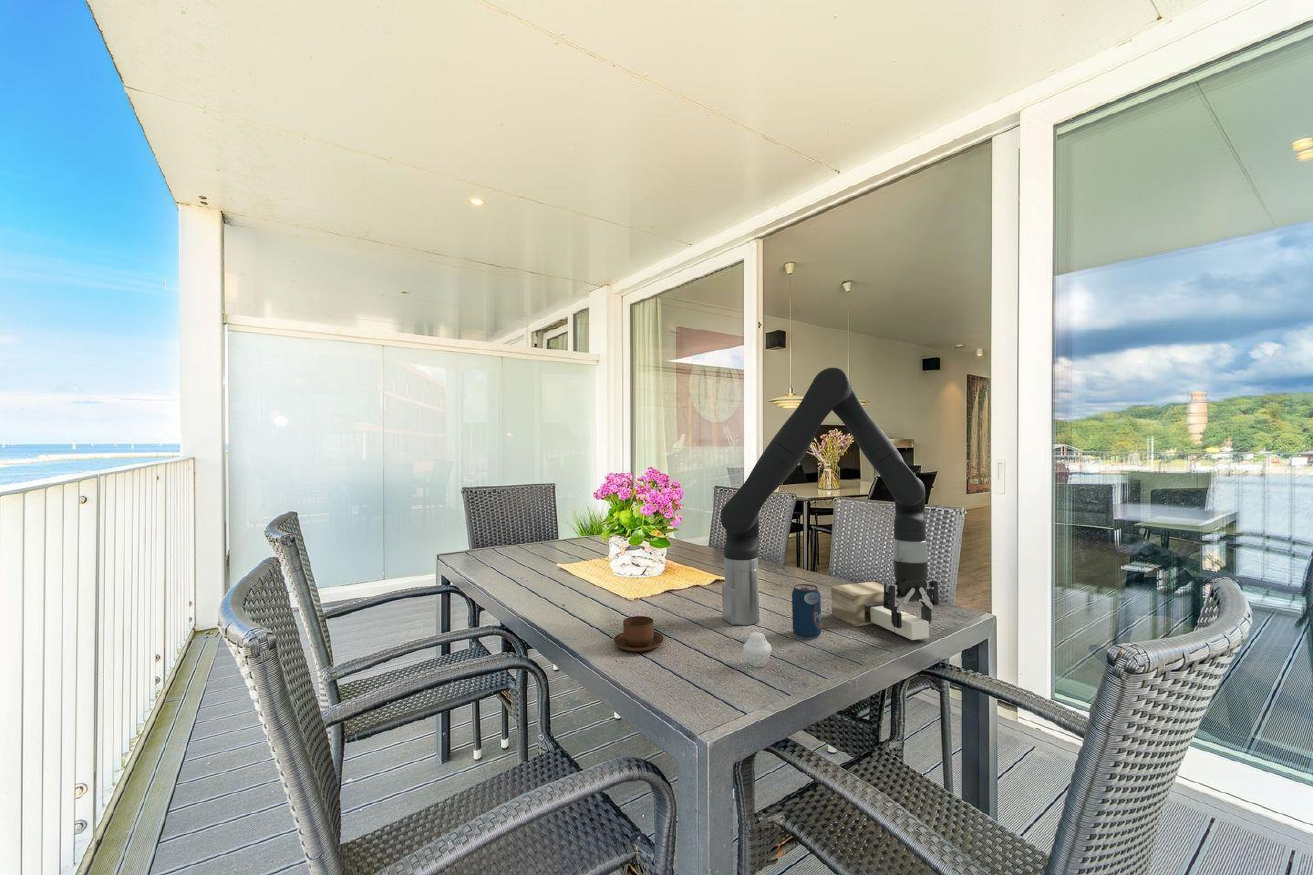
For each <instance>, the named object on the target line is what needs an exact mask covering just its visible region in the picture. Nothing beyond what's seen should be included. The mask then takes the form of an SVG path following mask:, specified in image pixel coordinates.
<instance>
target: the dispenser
mask: <svg viewBox="0 0 1313 875" xmlns="http://www.w3.org/2000/svg"><path fill="white" fill-rule="evenodd" d="M830 588H831V589H830V595H831V596H830V597H831V599H830V600H831V616H833V617H835V618H837V619H839V620H841V621H843V622H845V623H848V624H850V625H851V626H853V627H862V626H868V625H869V626H870V625H874V624H875V623H873V622H871V616H870V607H873V606H881V605H883V601H884V584H882V583H878V582H875V581H866V582H859V583H849V584H840V585H832V586H830ZM898 604H899V603H898ZM898 604H897V605H898ZM896 607H897V606H896ZM875 625H876V624H875Z"/></svg>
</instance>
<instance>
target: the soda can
mask: <svg viewBox="0 0 1313 875" xmlns="http://www.w3.org/2000/svg"><path fill="white" fill-rule="evenodd" d="M821 606H822V604H821V593H820V591H819V590H818V586H816V585H814V584H809V583H798V584H795V585H794V586H793V590H792V592H791V612H792V613H791V614H792V630H793V632H794V634H795V636H796V637H798V638H801V639H807V640H812V639H813V640H814V639H817V638H819V636H820V635H821V633H822V607H821Z"/></svg>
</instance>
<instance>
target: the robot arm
mask: <svg viewBox="0 0 1313 875" xmlns="http://www.w3.org/2000/svg"><path fill="white" fill-rule="evenodd" d="M856 394H857V393H855V390H854V388H853V384H852V382H851V380H850V378H849V376H848V374H847V373H846V372H845V371H844V370H842V369H841V368H839V367H838V368H837V367H827V368H825V369H823V370H820V372H818V373H817V374H816V375H815V377H814V378H813V380H812V382H811V384H810V386H809V387H808V389H807V391H806V393H805V394H804V396H803V398H802V399H801V401H800V403H799V404H798V406H797V407H796V409H795V410H794V411H793V413H792V414H791V415H790V416H789V418H788V419H786V421H785V423H784V424H783V425H782V426H781V427H780V429H779V431H777V433H776V434H775V435H774V437H773V438H772V439H771V441H770V442H769V444H768V445H767V446H766V448H765V449H764V451H763V453H762V454H761V455H760V457H759V459H758V460H757V462H756V463H755V465H754V466H753V468H752V469H751V471H750V474H749V475H748V477H747V479H746V480H745V481H744V483H743V484H742V485H741V487H740V488H739V489H737V491H736V493H734V494H733V496H732V497H730V499H729V500H728V501H727V502H726V503H725V504H724V505H723V507H722V509H721V512H720V523H721V526H722V527H723V529H724V530H725V531H726V533H725V534H726V537H725V543H724V547H723V559H724V560H723V562H724V563H723V564H724V565H723V566H724V571H723V572H724V583H722V584H721V599H722V600H721V601H722V604H721V605H722V607H721V608H722V619H723V620H725V621H726V622H728V623H729V624H730V625H732V626H733V625H741V626H749V625H755V624H757V623H759V622H760V620H761V619H760V615H761V614H760V591H759V589H760V587H759V545H760V517H759V512H760V511H761V509H762V507H763V506H764V505H765V503H766V501H767V500H768V498H769V497H770V496H771V495H772V494H773V493H774V492H775V491H777V489H778V488H779V487H780V486H781V485H782V484H783V483H784V482H785V481H786V480H787V479H788V477H789V476H790V475H791V474H792V473H793V472H794V471H795V469H796V468H797V466H799V464H800V462H801V461H802V459H804V457H805V455H806V454H807V452H808V451H809V448H810V447H811V444H812V443H813V441H814V439H815V436H816V434H817V432H818V429H819V428H820V426H821V425H822V423H823V422H824V420H825V419H826V418H827V416H828V415H829V414H830V413H832V412H833V413H834V414H835V415H836V416H837V417H838V418H839V419H840V421H842V423H843V424H844V425H845V427H846V428H847V430H848V431H849V433H850V434H851V436H852V438H853V439H854V441H855V442H856V444H857V447H859V449H860V450H861V452H862V454H863V455H864V456H865V458H866V459H867V461H868V462H869V464H870V465H871V466H872V467H873V468H874V470H875V471H876V472H877V473H878V475H879V476H880V478H881V480H882V481H883V484H885V486H886V488H887V490H888V491H889V492H890V494H891V496H892V497H893V498H894V506H895V507H894V508H895V510H894V511H895V517H894V521H893V546H892V547H893V548H892V553H893V554H892V555H893V575H894V578H895V582H894V584H893V583H892V584H891V583H887V582H885V583H884V584H883V585H884V601H883V607H884V608H886V609H888V610H891V622H892V624H893V626H894V627H896V628H902V615H901V613H900V612H901V611H902V610H903V608H904V607H905V606H907V604H908V603H909V602H913V601H915V602H916V601H917V602H919V603H920V605H921V606H920V611H921V613H920V614H921V616H920V617H921V619H923V620H926V621H929V625H931V623H932V617H933V616H932V609H933V607H935V606H938V605H939V604H940V601H939V587H938V581H936V580H933V579H930V578H929V566H928V565H929V564H928V563H929V562H928V560H929V557H928V556H929V555H928V546H927V528H926V525H927V524H926V520H925V519H926V518H925V512H926V511H925V510H926V488H925V484H924V482H923V481H922V480H921V479H920V478H919V477H917V476H916V475H915V473H914V472H913V470H911V469H910V468H909V466H908V465H907V464H906V462H905V461H904V458H903V456H902V454H901V453H900V451H899V450H898V449H897V447H896V446H895V444H894V443H893V442H892V440H891V439H890V438H889V436H887V434H886V433H885V432H884V431H883V430H882V428H881V427H880V426H879V425H878V424H877V423H876V421H875V420H873V418H872V417H871V416H870V415H869V413H868V412H867V410H866V409H865V407H864V406H863V405H862V404H861V401H860V400H859V398H858V396H857V395H856ZM898 603H899V604H898ZM897 604H898V605H897ZM896 606H897V607H896Z"/></svg>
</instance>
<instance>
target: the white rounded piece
mask: <svg viewBox="0 0 1313 875" xmlns="http://www.w3.org/2000/svg"><path fill="white" fill-rule="evenodd" d="M742 649H743V651H744V656H745V657H746V659H747V660H748V662H749V664H750V665H751V666H752V667H755V668H763V667H765V666H766V665H767V662H768V660H769V659H770V657H771V653H772V650H773V649H772V645H771V644H770V642H769V641H768V640H767V639H766V636H765V634H763V633H761V632H757V631H756V632H751V633H750V634H749V636H748V639H747V640H746V642H744V644H743V648H742Z"/></svg>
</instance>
